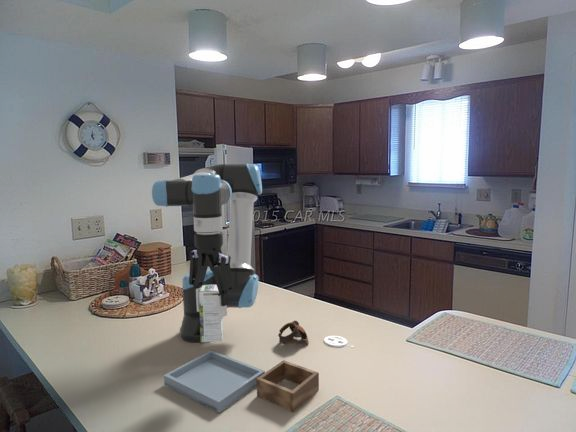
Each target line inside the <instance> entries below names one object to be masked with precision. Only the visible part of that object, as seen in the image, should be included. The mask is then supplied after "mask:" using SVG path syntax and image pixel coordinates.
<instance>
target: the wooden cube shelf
mask: <svg viewBox="0 0 576 432" xmlns="http://www.w3.org/2000/svg"><path fill="white" fill-rule="evenodd" d="M319 376H320V374H319V372H318V371H315V370H312V369H309V368H307V367H304V366H301V365H299V364H295V363H293V362H290V361H287V360H284V359H283V360H282V361H280V362H278V363H277V364H276V365H274V366H273V367H272V368H270V369H268V370H267V371H266V372H265V373H264V374H263V375H261V376H260V377H258V378H257V387H256V396H257V397H259V398H260V399H263V400H265V401H267V402H270V403H271V404H274V405H276V406H279V407H281V408H283V409H285V410H287V411H290V412H291V413H294V412H296V411H297V410H298V409H299V408H300V407H301V406H302V405H304V403H306V401H308V400H309V399H310V398H311V397H312V396H314V394H316V393H317V392H318V391H319V390H320V385H319V384H320V383H319V382H320V381H319V380H320V379H319V378H320V377H319ZM284 380H286V381H288V382H292V383H295V384H297V386H296V387H295V388H294V389H290V388H287V387H284V386H282V385H280V383H281V382H282V381H284Z"/></svg>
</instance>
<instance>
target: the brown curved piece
mask: <svg viewBox="0 0 576 432" xmlns="http://www.w3.org/2000/svg"><path fill="white" fill-rule="evenodd" d="M287 329H289V330H290V331H291V333H289V334H287V335H282V334H283V333H284V332H285V330H287ZM278 332H279V333H278V335H277V336H278V339H279V343H280V344H281V345H282V344H283V345H285V344H286V345H287V344H290V343H291V344H294V343H295V340H294V338H300V339H301V340H304V342H305V345H306V346H309V342H310V341H309V337H308V335H307V333H306V330H305V329H304V328H303V326H301V325H300V323H299V322H298V321H297V320H292V321H291V322H288V323H286V324H284V325H283V326H282V327H280V329H279V331H278Z"/></svg>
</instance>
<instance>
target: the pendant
mask: <svg viewBox="0 0 576 432" xmlns="http://www.w3.org/2000/svg"><path fill="white" fill-rule="evenodd" d="M323 342H324V343H325V345H327V346H330V347H333V348H343V347H346V346H347V347H350V348H355V347H354V345H350V344H348V339H346V338H345V337H343V336H339V335H328V336H325V337H324V339H323Z"/></svg>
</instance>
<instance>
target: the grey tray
mask: <svg viewBox="0 0 576 432" xmlns="http://www.w3.org/2000/svg"><path fill="white" fill-rule="evenodd" d="M264 373H266V372H265V370H263V369H260V368H258V367H255V366H253V365H251V364H248V363H246V362H243V361H240V360H238V359H235V358H232V357H229V356H227V355H224V354H223V353H219V352H217V351H214V350H212V349H211V350H208V351H207V352H205V353H202V354H201V355H200V356H197V357H196V358H194V359H192V360H190V361H188V362H187V363H184V364H182V365H180V366H179V367H177V368H175V369H173V370H171V371H169V372H167V373H166V374H164V375H163V384H164V386H165V387H168V388H169V389H172V390H173V391H175V392H177V393H179V394H181V395H183V396H185V397H187V398H188V399H191V400H193V401H194V402H196V403H199V404H201V405H202V406H205V407H207V408H208V409H210V410H212V411H214V412H216V413H218V414H220V413H221V412H222V413H223V411H224V410H226V409H227V408H230V406H231V405H233V404H234V403H236V402H237V401H239V400H240V399H242V398H243V397H244V396H246V395H247V394H249V393H250V392H252V391H253V390H254V389H255V388H256V389H257V378H258V377H260V376H261V375H263V374H264Z"/></svg>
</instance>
